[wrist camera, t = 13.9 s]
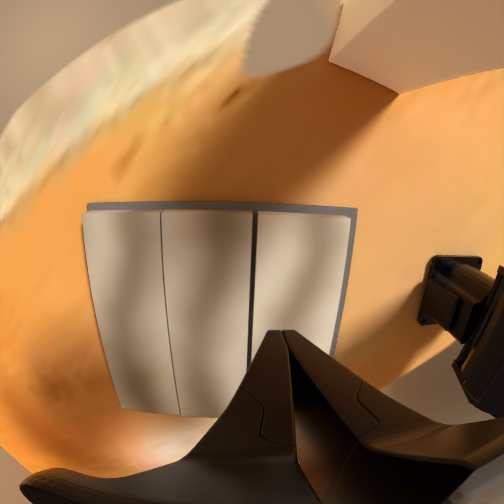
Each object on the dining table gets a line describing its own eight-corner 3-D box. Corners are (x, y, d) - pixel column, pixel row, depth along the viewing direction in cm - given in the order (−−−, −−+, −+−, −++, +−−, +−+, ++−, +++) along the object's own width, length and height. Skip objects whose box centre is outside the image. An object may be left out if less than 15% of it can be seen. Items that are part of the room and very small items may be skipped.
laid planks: (251, 210, 20) (252, 214, 18) (244, 408, 25) (244, 418, 24) (89, 210, 19) (81, 213, 18) (124, 400, 24) (121, 408, 23)
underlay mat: (355, 208, 20) (357, 208, 20) (320, 403, 26) (321, 405, 25) (89, 203, 19) (87, 203, 19) (124, 397, 24) (123, 399, 24)
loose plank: (345, 215, 20) (350, 218, 19) (311, 407, 25) (313, 416, 24) (257, 210, 20) (258, 214, 18) (248, 409, 25) (248, 418, 24)
